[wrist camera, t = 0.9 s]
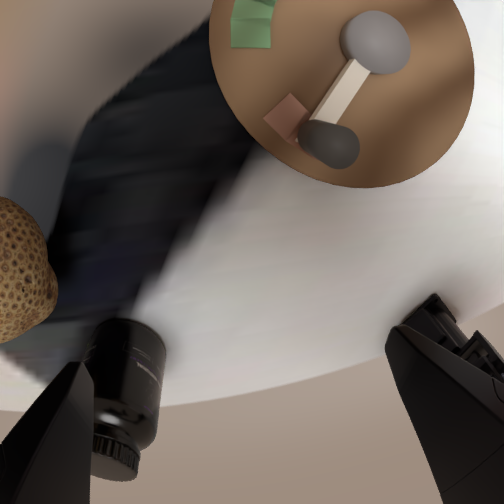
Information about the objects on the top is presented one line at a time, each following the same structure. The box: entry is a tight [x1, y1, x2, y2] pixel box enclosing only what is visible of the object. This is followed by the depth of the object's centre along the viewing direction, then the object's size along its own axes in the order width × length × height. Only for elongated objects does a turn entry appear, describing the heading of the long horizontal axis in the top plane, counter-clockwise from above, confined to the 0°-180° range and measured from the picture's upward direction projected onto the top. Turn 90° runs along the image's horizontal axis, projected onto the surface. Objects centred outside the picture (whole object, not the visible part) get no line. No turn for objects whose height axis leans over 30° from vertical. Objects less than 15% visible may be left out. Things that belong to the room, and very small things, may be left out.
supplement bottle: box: [81, 320, 166, 482], centre depth 20 cm, size 7×7×12 cm
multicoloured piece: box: [295, 11, 411, 169], centre depth 14 cm, size 10×4×5 cm, turn 149°
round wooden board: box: [209, 0, 474, 188], centre depth 16 cm, size 19×19×1 cm
